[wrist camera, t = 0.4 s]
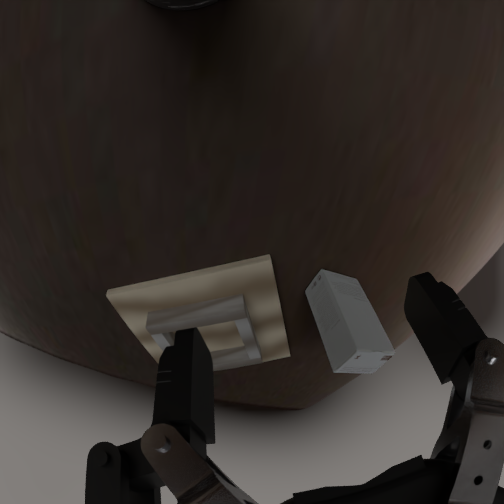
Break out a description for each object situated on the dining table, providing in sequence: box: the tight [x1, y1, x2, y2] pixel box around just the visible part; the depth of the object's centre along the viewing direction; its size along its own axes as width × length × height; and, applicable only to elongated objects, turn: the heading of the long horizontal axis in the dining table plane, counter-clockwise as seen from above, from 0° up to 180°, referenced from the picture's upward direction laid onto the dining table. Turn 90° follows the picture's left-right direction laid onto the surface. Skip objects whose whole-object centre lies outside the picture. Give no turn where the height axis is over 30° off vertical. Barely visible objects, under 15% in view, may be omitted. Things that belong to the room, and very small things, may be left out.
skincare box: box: [305, 269, 395, 374], centre depth 32 cm, size 6×4×12 cm
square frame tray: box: [106, 254, 290, 371], centre depth 38 cm, size 20×20×4 cm
